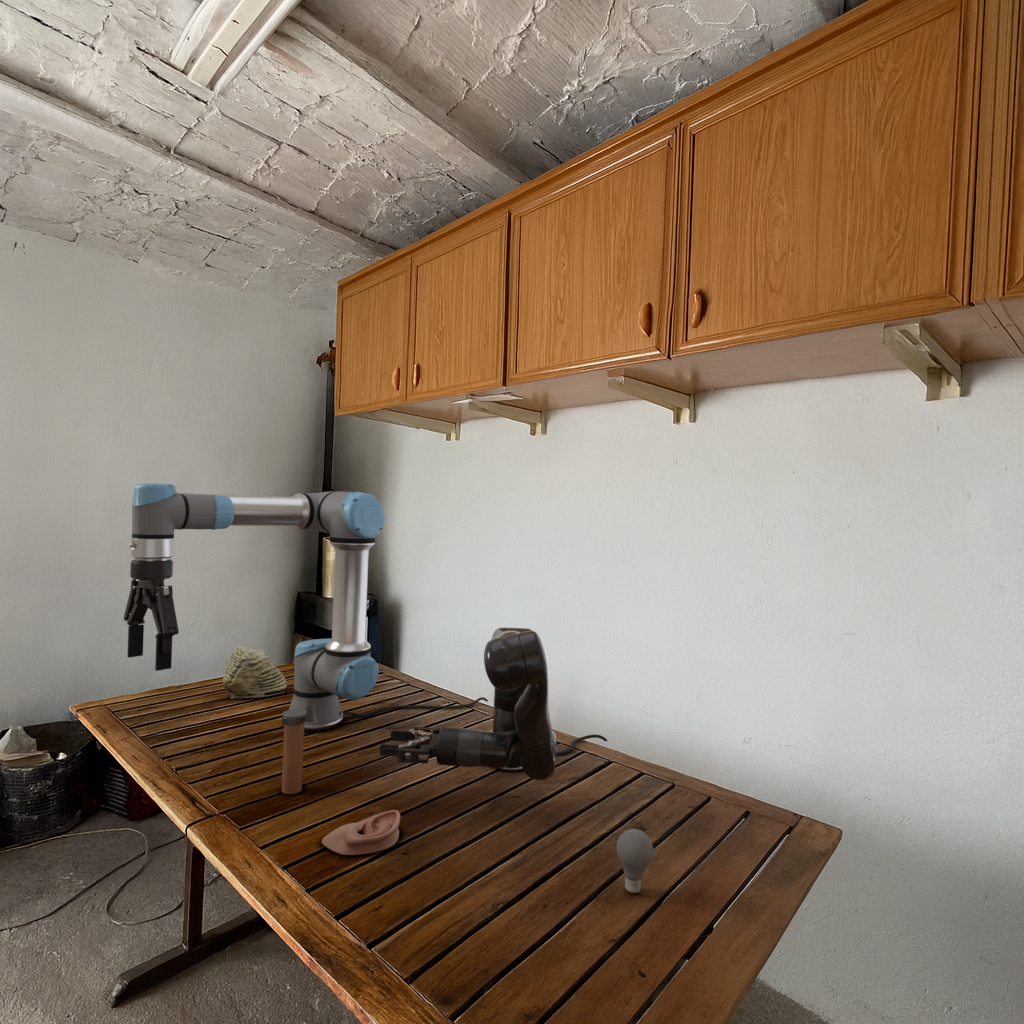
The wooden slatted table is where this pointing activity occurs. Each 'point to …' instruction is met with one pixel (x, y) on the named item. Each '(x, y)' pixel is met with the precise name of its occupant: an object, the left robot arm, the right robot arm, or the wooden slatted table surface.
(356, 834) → the anatomical model
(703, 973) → the wooden slatted table surface
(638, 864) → the light bulb
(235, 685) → the fossil
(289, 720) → the lid
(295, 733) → the brown cylindrical rod
